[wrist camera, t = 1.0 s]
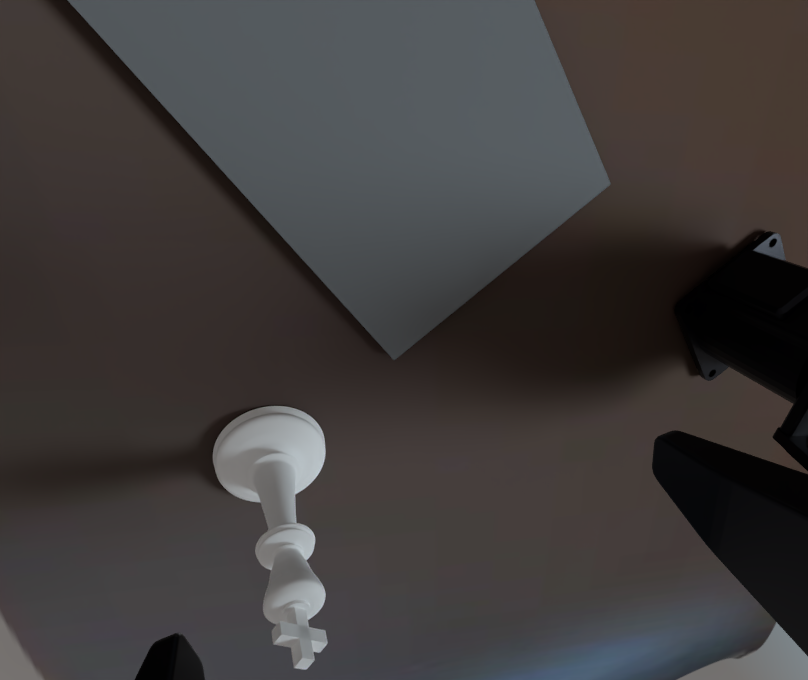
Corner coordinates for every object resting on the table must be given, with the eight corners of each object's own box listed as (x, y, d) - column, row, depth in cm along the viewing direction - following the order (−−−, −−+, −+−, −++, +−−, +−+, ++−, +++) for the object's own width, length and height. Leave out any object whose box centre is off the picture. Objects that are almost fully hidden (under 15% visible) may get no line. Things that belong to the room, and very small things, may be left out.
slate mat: (602, 181, 23) (611, 184, 22) (390, 354, 23) (394, 360, 23) (356, -395, 13) (362, -414, 13) (0, -78, 14) (-8, -83, 13)
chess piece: (253, 387, 22) (280, 587, 13) (345, 430, 24) (416, 622, 16) (190, 472, 23) (179, 710, 14) (285, 505, 25) (323, 724, 17)
